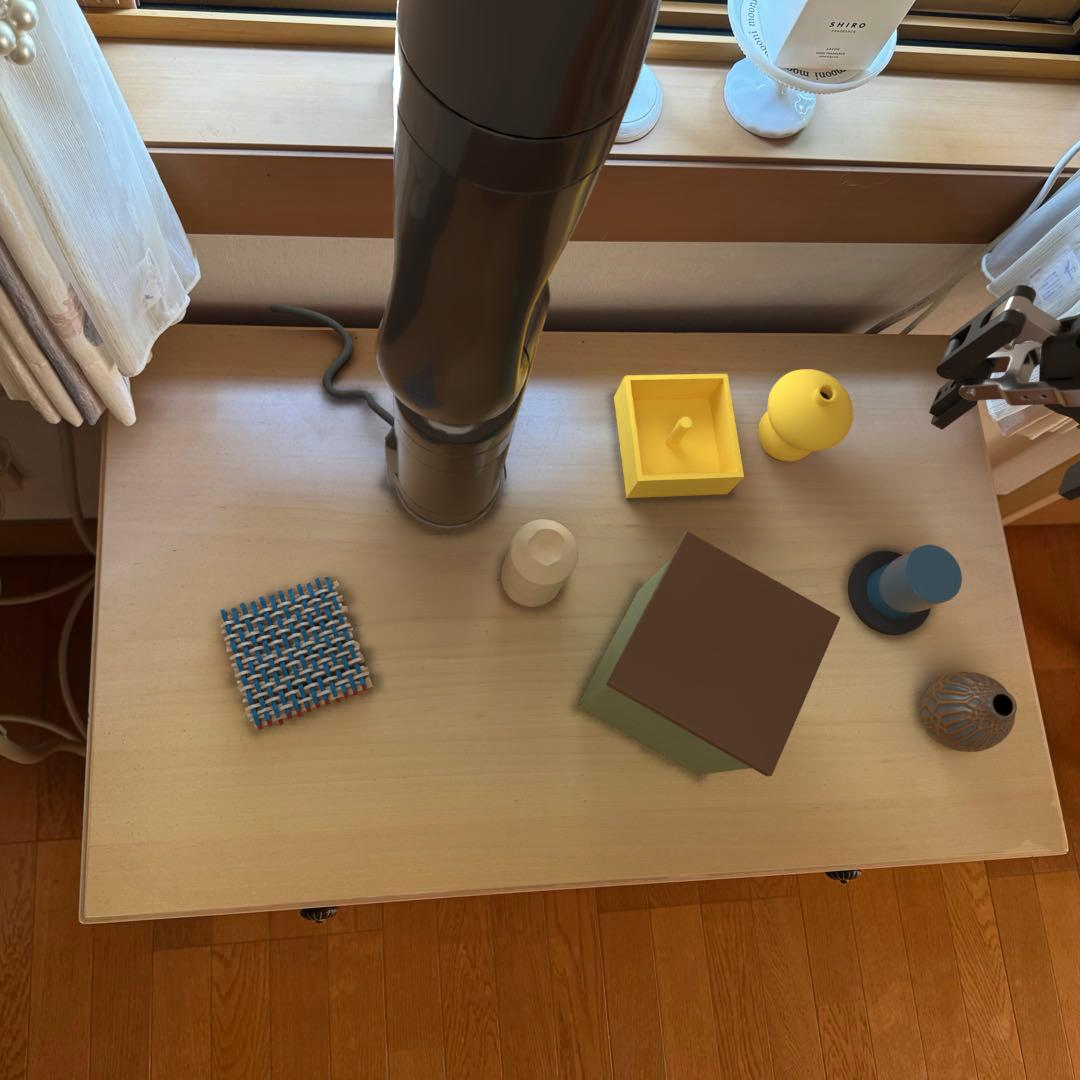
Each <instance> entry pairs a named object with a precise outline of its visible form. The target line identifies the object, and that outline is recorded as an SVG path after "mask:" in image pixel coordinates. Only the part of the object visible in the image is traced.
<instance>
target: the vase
mask: <svg viewBox="0 0 1080 1080" xmlns="http://www.w3.org/2000/svg"><path fill="white" fill-rule="evenodd" d="M1017 711H1018V705H1017V702H1016V699H1015V697H1014V696H1013V695H1012V693H1010V692H1009V691H1008V690H1007V688H1006V687H1005V686H1003V684H1001V683H1000V682H999V681H998V680H996V679H995V678H993V677H991V676H990V675H986V674H983V673H980V672H975V671H957V672H952V673H948V674H946V675H944V676H942V677H940V678H938V679H937V680H935V681H934V682H933V683H931V684H930V686H929V687H928V688H927V689H926V691H925V692H924V694H923V696H922V699H921V702H920V717H921V721H922V724H923V727H924V728H925V730H926V731H927V733H928V735H929V736H931V737H932V739H934V740H935V741H936V742H937V743H938V744H940V745H942V746H943V747H945V748H948V749H949V750H953V751H956V752H960V753H961V752H962V753H978V752H984V751H987V750H989V749H992V748H994V747H996V746H997V745H998V744H1001V743H1002V742H1003V741H1004V740H1005V739H1006V738H1007V737H1008V736H1009V734H1010V733H1011V731H1012V729H1013V727H1014V725H1015V722H1016V714H1017Z"/></svg>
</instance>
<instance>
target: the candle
mask: <svg viewBox="0 0 1080 1080" xmlns="http://www.w3.org/2000/svg"><path fill="white" fill-rule="evenodd" d="M578 559H579V548H578V544H577V541H576V538H575V537H574V535H573V534H572V533H571V531H570V530H569V528H567V527H565V526H564V525H563V524H561V523H560V522H558V521H555V520H551V519H545V518H544V519H543V518H542V519H535V520H532V521H529V522H526V523H524V525H522V526H521V527H520V528H519V529H518V530H517V531H516V533H515V534H514V536H513V538H512V540H511V543H510V545H509V547H508V551H507V554H506V557H505V559H504V561H503V562H504V563H503V565H502V568H501V572H500V573H501V574H500V577H501V584H502V587H503V591H504V592H505V594H506V595H507V596H508V597H509V598H510V600H512V601H513V602H515V604H518V605H520V606H523V607H527V608H537V607H542V606H544V605H546V604H548V603H550V602H551V601H552V600H554V599H555V597H556V596H557V595H558V594H559V593H560V591H561V590H562V588H563V586H564V585H565V584H566V582H567V581H568V579H569V577H570V576H571V575H572V573H573V572H574V570H575V568H576V566H577V563H578V561H579V560H578Z"/></svg>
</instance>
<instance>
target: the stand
mask: <svg viewBox="0 0 1080 1080" xmlns="http://www.w3.org/2000/svg"><path fill="white" fill-rule="evenodd" d="M840 620H841V616H839V615H838V614H836V613H835V612H833V611H830V610H828V609H827V608H825V607H823V606H822V605H820V604H818V603H816V602H814V601H813V600H811V599H809V598H807V597H806V596H804V595H802V594H800V593H799V592H797V591H795V590H793V589H791V588H789V587H787V586H786V585H784V584H783V583H781V582H779V581H777V580H775V579H774V578H772V577H770V576H769V575H766V574H765V573H763V572H761V571H759V570H758V569H756V568H755V567H753V566H750V565H749V564H747V563H746V562H743V561H742V560H740V559H738V558H736V557H735V556H734V555H731V554H729V553H728V552H726V551H724V550H722V549H721V548H719V547H717V546H715V545H713V544H711V543H710V542H708V541H707V540H704V539H703V538H701V537H699V536H697V535H696V534H694V533H692V532H690V531H689V530H686V531H685V532H684V533H683V534H682V536H681V537H680V540H679V542H678V544H677V545H676V548H675V550H674V552H673V554H672V556H671V557H670V559H669V560H668V561H666V563H665V564H664V565H663V566H662V567H661V568H660V569H658V571H656V572H655V574H653V575H652V576H651V578H649V579H648V580H647V582H645V583H644V584H643V585H642V587H640V588H639V589H638V590H637V592H636V594H635V596H634V598H633V600H632V602H631V604H630V605H629V608H628V609H627V611H626V613H625V614H624V617H623V618H622V621H621V623H620V624H619V626H618V628H617V630H616V631H615V634H614V636H613V638H612V640H611V641H610V644H609V645H608V648H607V649H606V651H605V653H604V654H603V656H602V659H601V661H600V662H599V664H598V666H597V668H596V670H595V672H594V674H593V676H592V678H591V680H590V681H589V683H588V686H587V687H586V690H585V691H584V693H583V695H582V697H581V699H580V700H579V702H578V705H577V707H578V708H580V709H582V710H583V711H585V712H587V713H588V714H591V715H592V716H594V717H595V718H597V719H599V720H601V721H602V722H604V723H605V724H608V725H609V726H611V727H612V728H615V729H616V730H618V731H619V732H622V733H623V734H625V735H627V736H629V737H631V738H632V739H634V740H635V741H637V742H639V743H641V744H642V745H644V746H646V747H648V748H649V749H651V750H653V751H655V752H656V753H658V754H660V755H662V756H663V757H665V758H667V759H669V760H671V761H672V762H674V763H676V764H677V765H678V766H681V767H683V768H685V769H687V770H688V771H690V772H691V773H693V774H695V775H697V776H703V775H710V774H712V775H713V774H717V773H727V772H733V771H740V770H747V769H752V770H754V771H756V772H758V773H760V774H761V775H763V776H765V777H772V776H773V774H774V773H775V770H776V767H777V766H778V763H779V760H780V758H781V756H782V753H783V751H784V750H785V749H784V748H785V747H786V745H787V742H788V740H789V738H790V735H791V733H792V731H793V729H794V726H795V724H796V722H797V719H798V716H799V715H800V712H801V710H802V708H803V705H804V703H805V700H806V698H807V697H808V693H809V692H810V689H811V686H812V684H813V682H814V680H815V678H816V675H817V674H818V670H819V669H820V666H821V663H822V662H823V659H824V657H825V655H826V652H827V650H828V647H829V645H830V643H831V641H832V638H833V636H834V633H835V631H836V629H837V627H838V625H839V622H840Z"/></svg>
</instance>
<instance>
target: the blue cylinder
mask: <svg viewBox="0 0 1080 1080" xmlns="http://www.w3.org/2000/svg"><path fill="white" fill-rule="evenodd" d="M962 582H963V574H962V570H961V567H960V565H959V563H958V560H957V559H956V558H955V557H954V556H953V554H952V553H951V552H950V551H948V550H946V549H945V548H943V547H941V546H939V545H935V544H923V545H920V546H917V547H915V548H913V549H912V550H910V551H908V552H906V553H904V554H902V556H900V557H898V558H896V559H894V560H892V561H890V562H889V563H887V564H885V565H883V566H881V567H879V568H877V569H876V570H874V571H873V572H872V574H871V575H870V577H869V579H868V582H867V595H868V598H869V601H870V603H871V604H872V606H873V607H874V609H875V610H876V611H877V612H879V613H880V614H881V615H883V616H885V617H887V618H890V619H904V618H906V617H909V616H911V615H914V614H916V613H919V612H921V611H924V610H926V609H929V608H931V609H932V608H934V607H936V606H939V605H942V604H944V603H947V602H948V601H951V600H953V598H955V597H956V596H957V594H958V593H959V592H960V589H961V587H962Z"/></svg>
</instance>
